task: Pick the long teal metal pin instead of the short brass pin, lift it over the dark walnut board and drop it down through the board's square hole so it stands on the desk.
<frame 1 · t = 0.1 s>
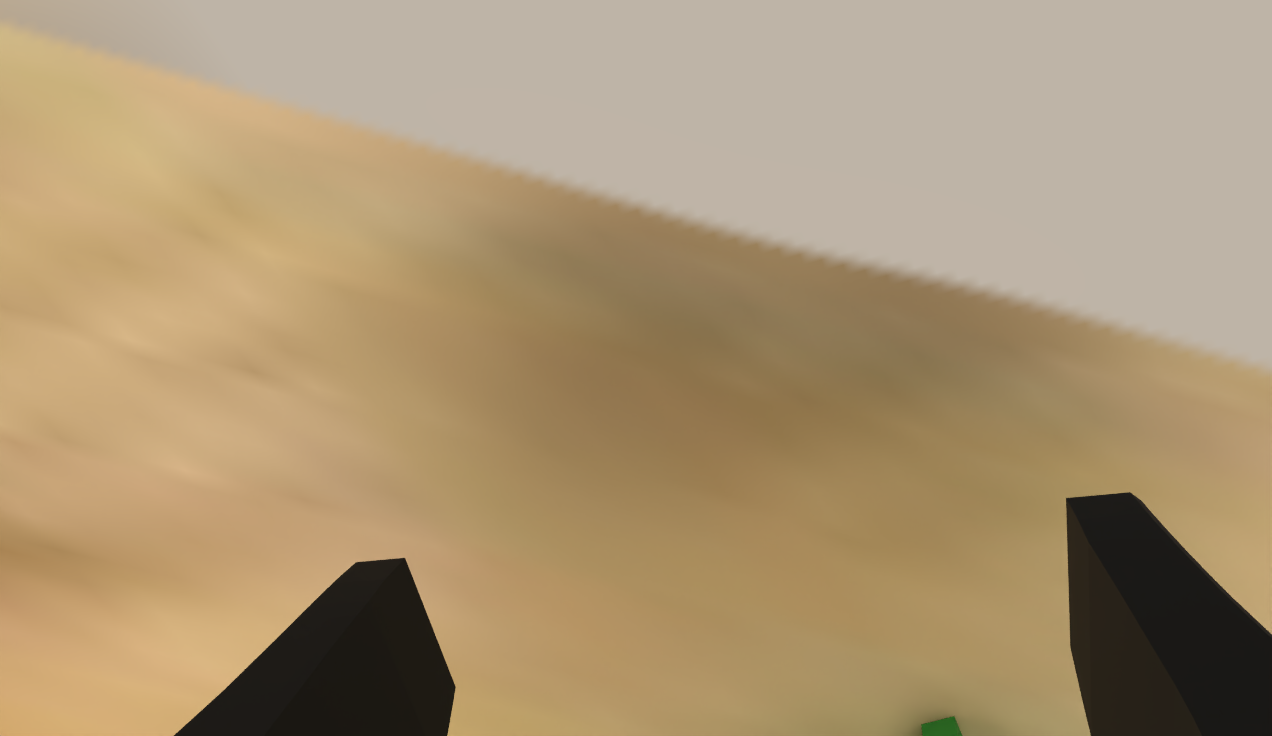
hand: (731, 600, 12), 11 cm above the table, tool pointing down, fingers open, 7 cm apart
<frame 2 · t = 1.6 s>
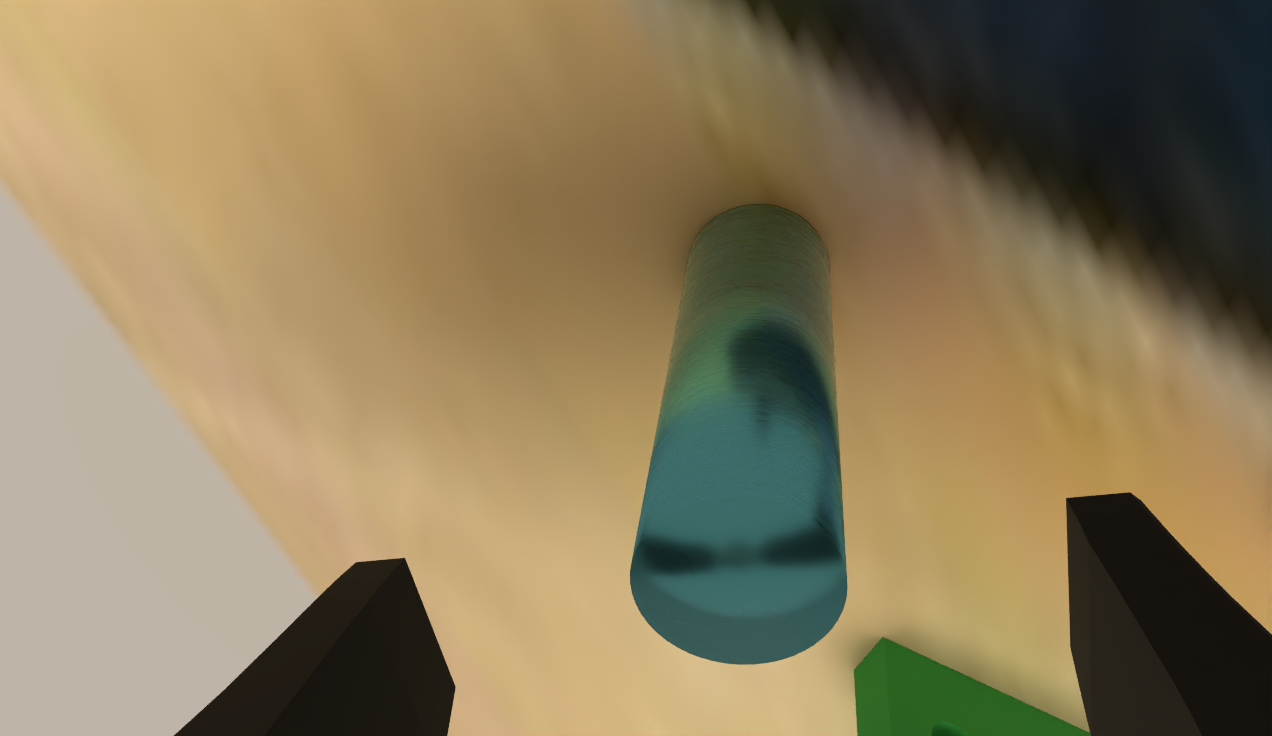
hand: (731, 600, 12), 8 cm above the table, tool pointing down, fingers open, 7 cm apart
long pin: (758, 270, 19), on the table
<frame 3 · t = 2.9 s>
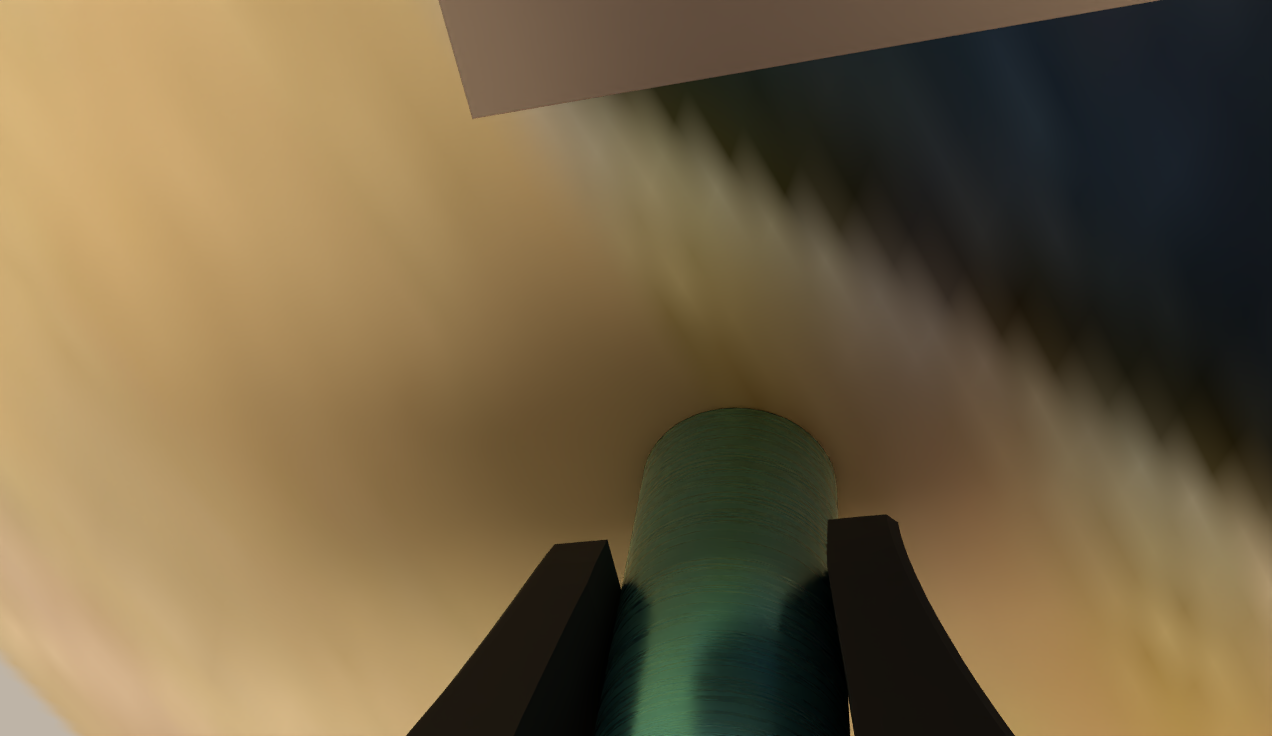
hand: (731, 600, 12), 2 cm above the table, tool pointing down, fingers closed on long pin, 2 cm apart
long pin: (738, 489, 14), on the table, touching gripper
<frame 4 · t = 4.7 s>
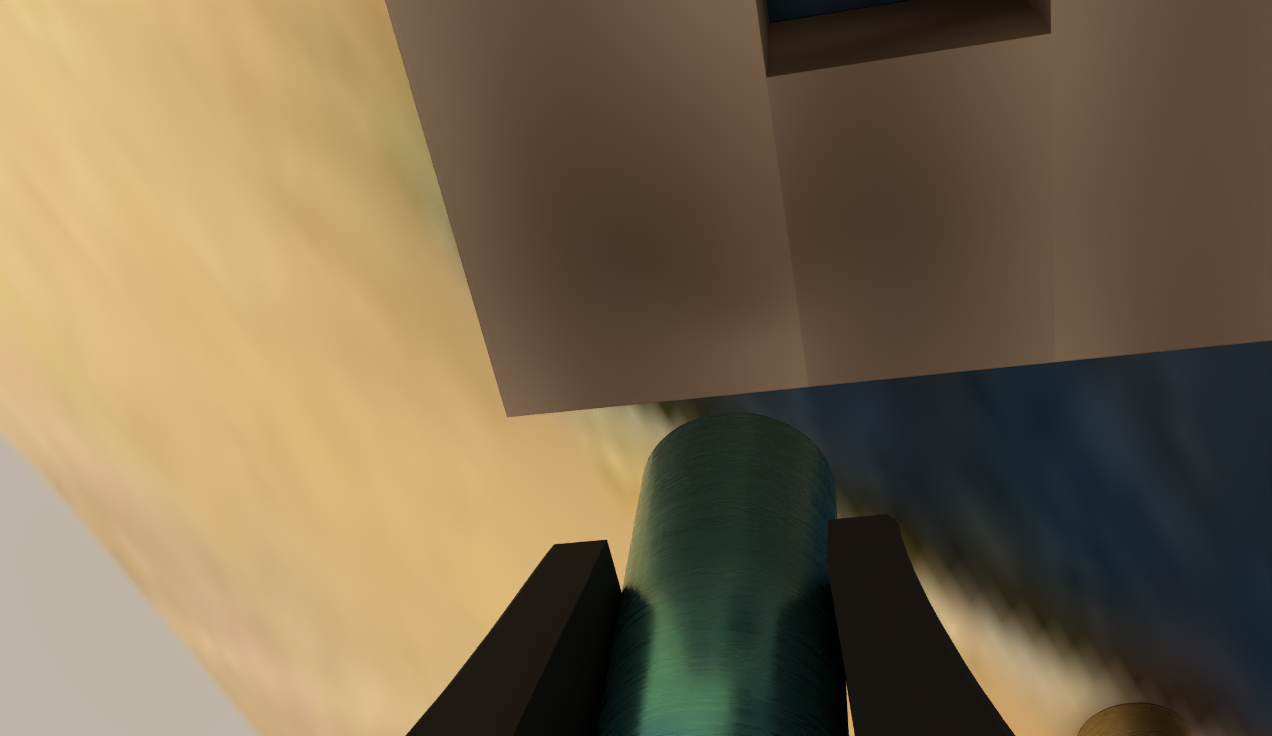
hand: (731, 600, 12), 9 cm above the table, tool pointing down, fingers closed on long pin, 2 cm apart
long pin: (737, 492, 14), point 7 cm above the table, touching gripper
when the fingers open (4 cm above the table, at t = 6.5 s): long pin drops 2 cm, resting in bored board.
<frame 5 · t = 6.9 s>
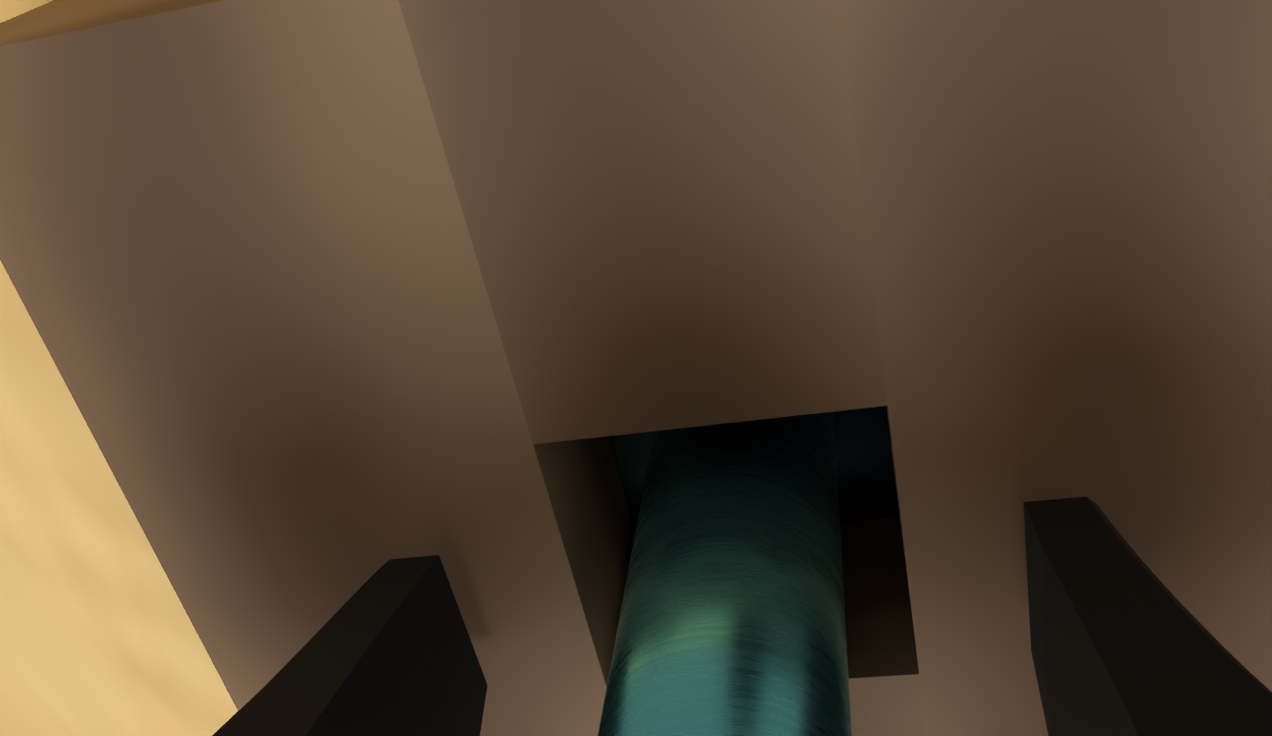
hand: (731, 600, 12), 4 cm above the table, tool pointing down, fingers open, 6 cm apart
long pin: (745, 421, 16), resting in bored board
bored board: (743, 419, 16), on the table
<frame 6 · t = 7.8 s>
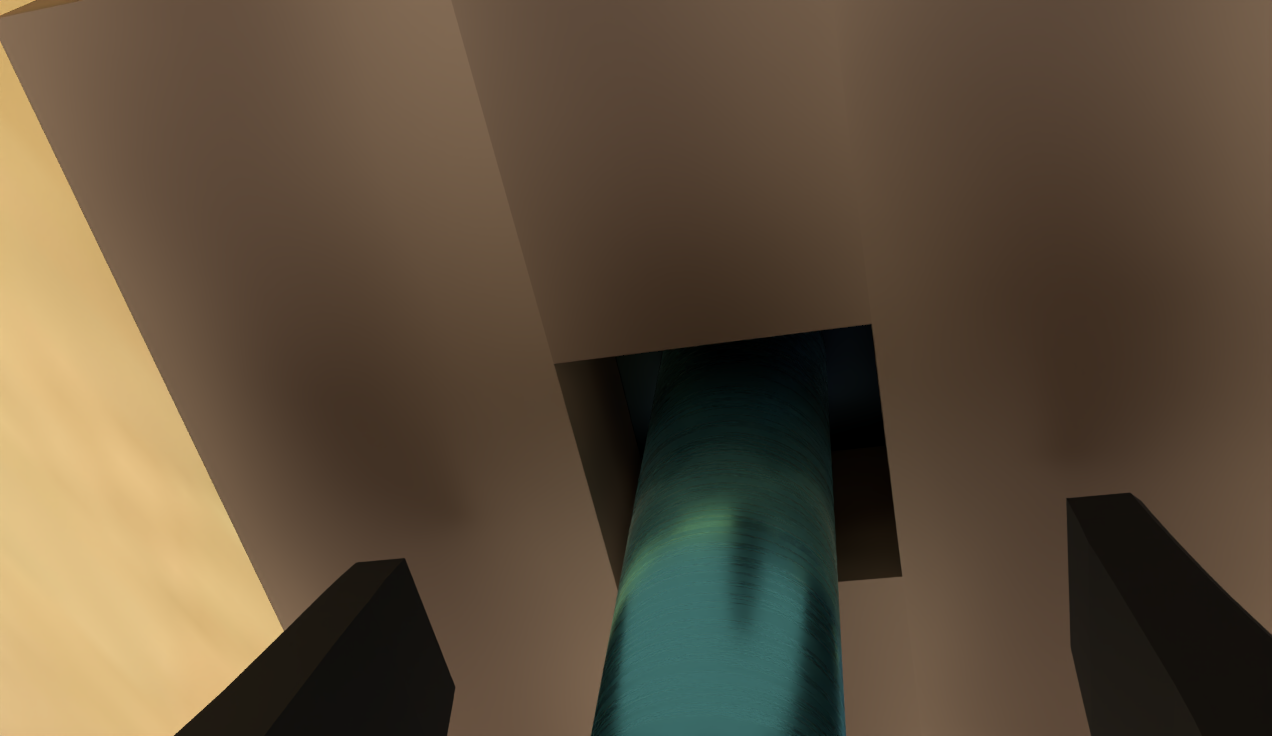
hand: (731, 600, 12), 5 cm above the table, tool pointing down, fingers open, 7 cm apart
long pin: (743, 356, 17), resting in bored board
bored board: (742, 354, 17), on the table
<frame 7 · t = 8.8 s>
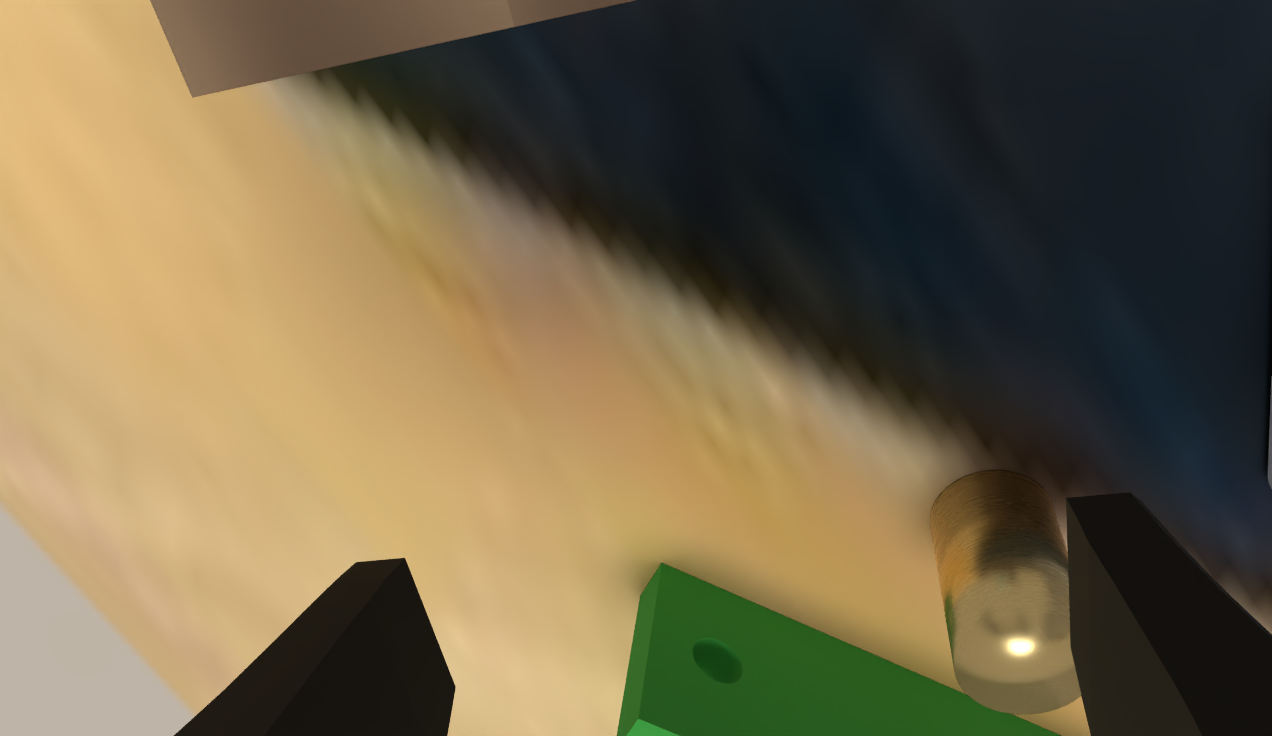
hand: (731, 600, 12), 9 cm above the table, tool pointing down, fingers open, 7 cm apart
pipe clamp: (844, 695, 26), on the table
short pin: (991, 519, 23), on the table
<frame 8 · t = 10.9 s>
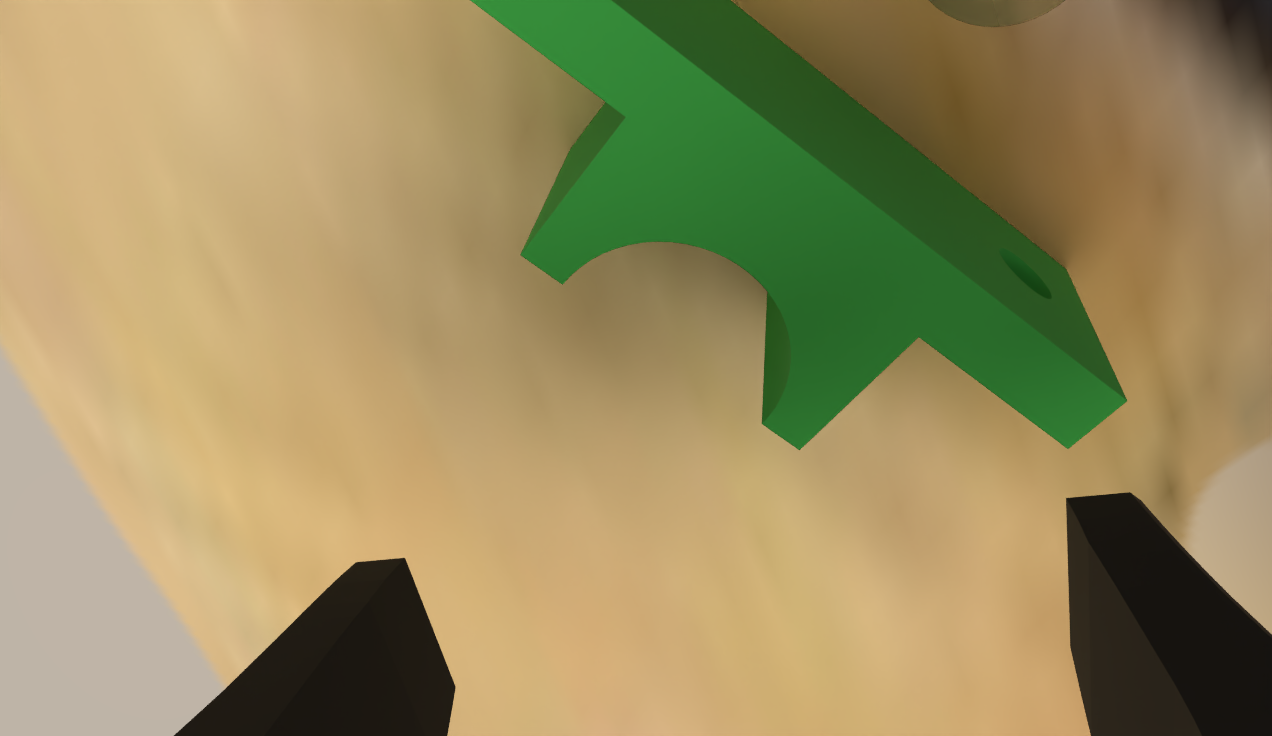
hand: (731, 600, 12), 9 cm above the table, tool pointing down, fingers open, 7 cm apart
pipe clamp: (753, 143, 20), on the table
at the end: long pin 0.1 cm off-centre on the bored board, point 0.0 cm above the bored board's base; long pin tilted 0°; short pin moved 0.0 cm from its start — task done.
